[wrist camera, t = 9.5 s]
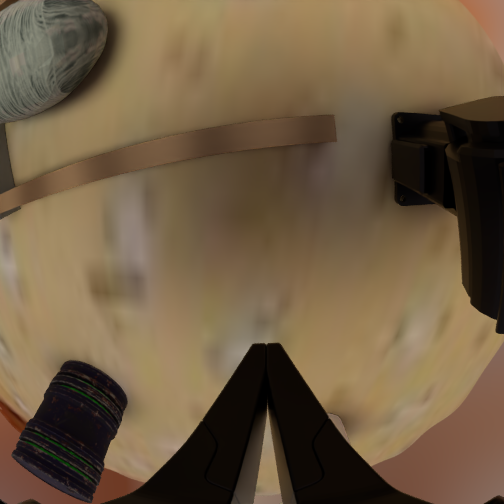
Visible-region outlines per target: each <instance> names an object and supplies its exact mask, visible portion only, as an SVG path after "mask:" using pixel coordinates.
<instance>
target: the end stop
mask: <svg viewBox="0 0 504 504" xmlns="http://www.w3.org/2000/svg"><path fill="white" fill-rule="evenodd" d="M13 188H15V185H14V180H13V175H12V171H11V166H10V160H9V154H8V148H7V142H6V134H5V126H4V123H1V124H0V194H2V193H4V192H7V191H9V190H11V189H13ZM19 209H21V208H20V206H18V207H15V208H13V209H10V210H8V211H5V212H3V213H0V219H2V218H4V217H6V216H8V215H10V214H11V213H13V212H15V211H17V210H19Z"/></svg>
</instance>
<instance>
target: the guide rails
mask: <svg viewBox="0 0 504 504" xmlns="http://www.w3.org/2000/svg"><path fill="white" fill-rule="evenodd" d="M17 1H19V0H0V12H1V11H2V10H3V9H5V8H7V7H8V6H10V5H12V4H13V3H15V2H17ZM323 142H337V138H336V128H335V119H334V115H318V116H302V117H290V118H279V119H269V120H261V121H253V122H245V123H238V124H231V125H225V126H219V127H213V128H207V129H202V130H197V131H192V132H187V133H182V134H177V135H173V136H168V137H164V138H160V139H155V140H151V141H147V142H143V143H140V144H136V145H132V146H128V147H125V148H121V149H118V150H115V151H111V152H108V153H105V154H101V155H98V156H95V157H92V158H89V159H86V160H83V161H80V162H77V163H75V164H72V165H69V166H66V167H64V168H61V169H58V170H56V171H53V172H50V173H48V174H45V175H43V176H40V177H38V178H36V179H33V180H31V181H29V182H26V183H24V184H22V185H20V186H17V187H15V188H13V189H11V190H9V191H7V192H4V193H2V194H0V213H3V212H5V211H8V210H10V209H13V208H15V207H18V206H21V205H23V204H26V203H29V202H31V201H34V200H37V199H40V198H43V197H46V196H49V195H51V194H54V193H58V192H61V191H64V190H67V189H70V188H73V187H77V186H80V185H83V184H87V183H90V182H94V181H97V180H101V179H104V178H108V177H112V176H116V175H119V174H123V173H127V172H132V171H136V170H140V169H144V168H149V167H153V166H158V165H162V164H167V163H172V162H177V161H182V160H187V159H193V158H198V157H204V156H210V155H216V154H222V153H229V152H236V151H243V150H250V149H258V148H267V147H276V146H286V145H296V144H308V143H323Z"/></svg>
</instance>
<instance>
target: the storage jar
mask: <svg viewBox="0 0 504 504" xmlns="http://www.w3.org/2000/svg"><path fill="white" fill-rule="evenodd" d="M126 406H127V397H126V394H125V393H124V391H123V390H122V388H121V387H120V386H119V385H118V384H117V383H116V382H115V381H114V380H113V379H112V378H110V377H109V376H108V375H106V374H105V373H103V372H102V371H100V370H99V369H97V368H95V367H93V366H91V365H89V364H86V363H83V362H80V361H67V362H65V363H64V364H63V366H62V367H61V370H60V371H59V372H58V373H57V375H56V376H55V377H54V378H53V380H52V381H51V383H50V385H49V387H48V389H47V390H46V392H45V394H44V400H43V402H42V403H41V405H40V407H39V409H38V410H37V412H36V414H35V416H34V417H33V418H32V419H30V420H29V422H28V423H27V424H26V427H25V430H23V431H22V433H21V435H20V437H19V439H20V440H19V441H18V443H17V446H16V447H17V448H16V450H14V451H13V453H12V457H13V458H14V459H15V460H16V461H17V462H18V463H19V464H20V465H22V466H23V467H24V468H25V469H27V470H28V471H29V472H31V473H32V474H33V475H35V476H36V477H38V478H39V479H41V480H43V481H44V482H46V483H47V484H49V485H51V486H52V487H54V488H56V489H58V490H60V491H62V492H63V493H66V494H68V495H70V496H72V497H74V498H76V499H79V500H81V501H84V502H87V503H92V500H93V493H95V491H96V488H97V487H96V486H98V485H99V482H100V479H101V476H100V475H101V474H102V471H103V470H104V462H103V461H104V458H105V455H106V453H107V450H108V447H109V444H110V442H111V440H113V439H114V438H115V435H116V434H117V430H118V428H119V426H120V424H121V421H122V416H123V411H124V410H125V408H126Z"/></svg>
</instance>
